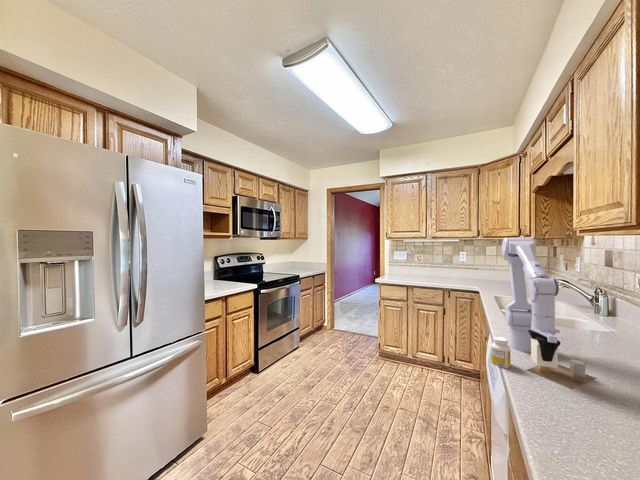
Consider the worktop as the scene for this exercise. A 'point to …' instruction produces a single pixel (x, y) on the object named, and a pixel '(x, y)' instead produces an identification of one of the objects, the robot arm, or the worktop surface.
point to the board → (562, 376)
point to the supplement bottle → (500, 352)
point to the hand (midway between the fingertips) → (543, 357)
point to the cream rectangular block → (538, 358)
